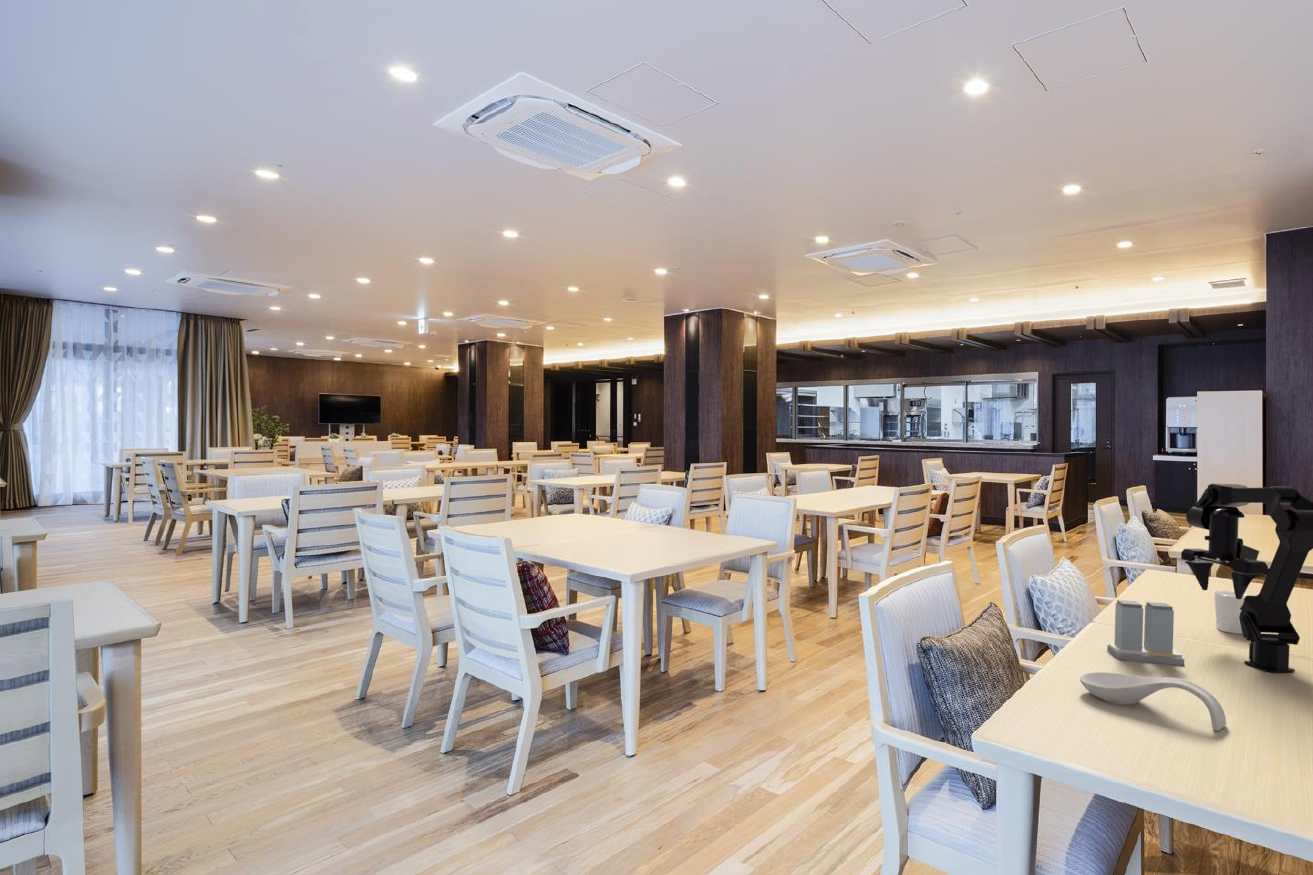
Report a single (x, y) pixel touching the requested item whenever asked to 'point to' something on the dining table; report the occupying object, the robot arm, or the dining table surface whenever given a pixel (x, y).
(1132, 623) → the block
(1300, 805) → the dining table surface
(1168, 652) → the block
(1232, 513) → the robot arm
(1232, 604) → the white cup
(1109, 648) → the rail board
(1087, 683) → the grey spoon
